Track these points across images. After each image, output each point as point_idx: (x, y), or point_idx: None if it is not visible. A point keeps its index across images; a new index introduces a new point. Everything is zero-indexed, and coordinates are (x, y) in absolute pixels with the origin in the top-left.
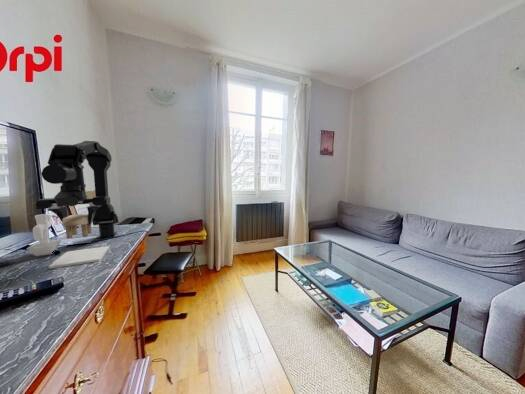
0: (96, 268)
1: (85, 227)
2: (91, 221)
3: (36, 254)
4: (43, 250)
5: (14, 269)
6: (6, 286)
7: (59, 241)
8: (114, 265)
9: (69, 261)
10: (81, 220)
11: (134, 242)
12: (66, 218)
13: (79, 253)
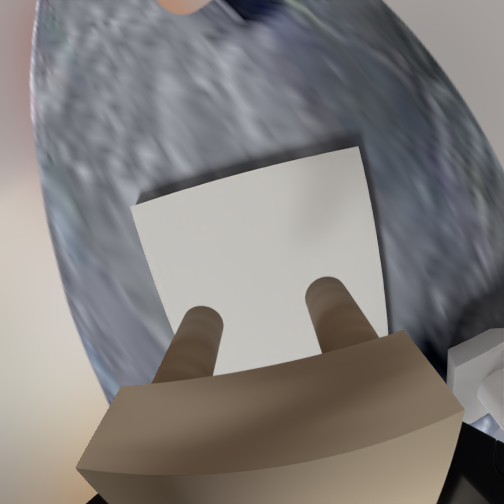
0: (102, 114)
1: (159, 370)
2: None
3: (490, 331)
4: (478, 344)
5: (490, 189)
6: (391, 14)
7: None
8: (45, 144)
9: (286, 196)
10: (144, 428)
11: None
12: (402, 447)
13: (305, 316)
